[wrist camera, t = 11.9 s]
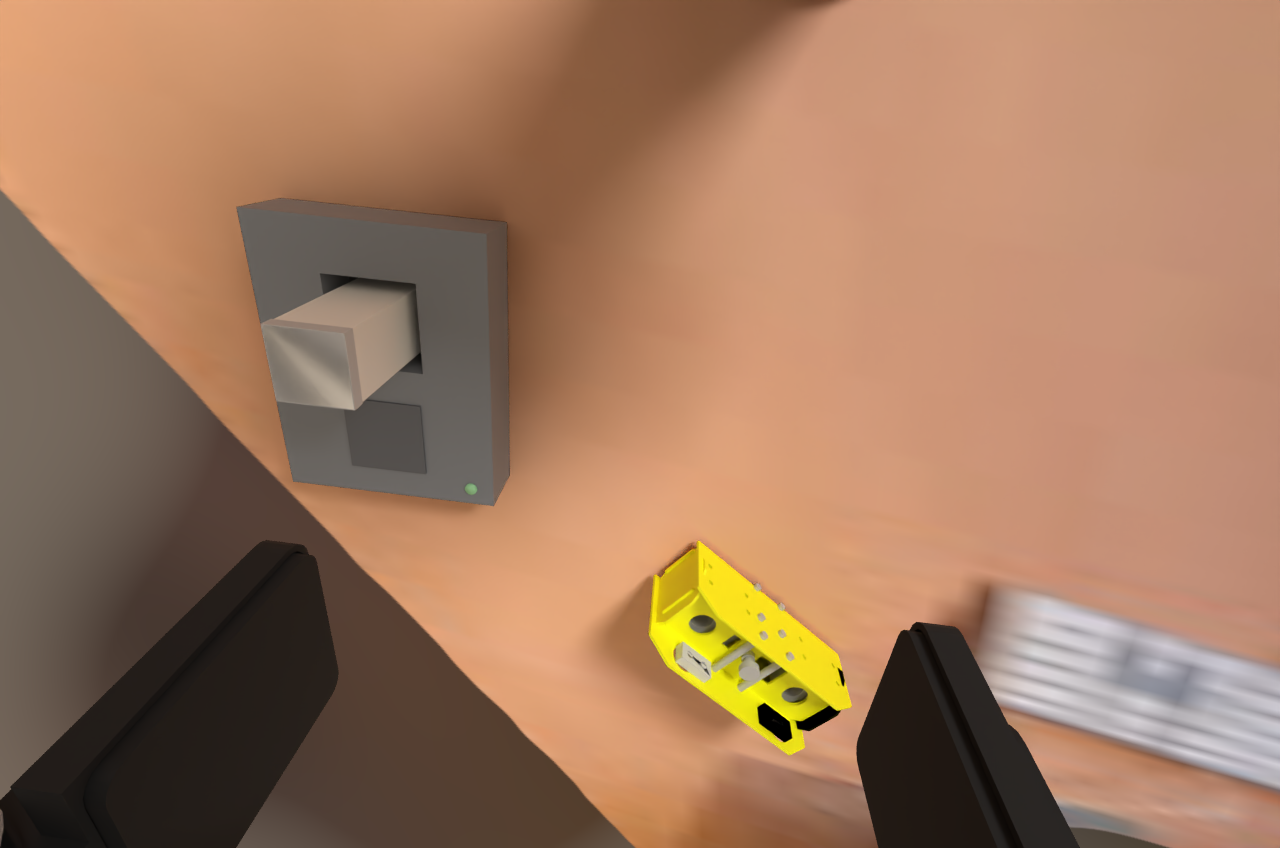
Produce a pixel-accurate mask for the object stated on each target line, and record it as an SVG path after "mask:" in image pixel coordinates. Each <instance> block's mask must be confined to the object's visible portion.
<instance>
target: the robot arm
mask: <svg viewBox="0 0 1280 848" xmlns="http://www.w3.org/2000/svg"><path fill="white" fill-rule="evenodd" d="M337 680H338V666H337V661H336V656H335V651H334V646H333V641H332V636H331V631H330V626H329V621H328V616H327V611H326V606H325V601H324V596H323V591H322V586H321V581H320V576H319V571H318V566H317V562H316V559H315V557H314V556H312V555H309V554H308V552H307V549H306V548H305V547H304V546H303V545H300V544H293V543H285V542H277V541H269V540H266V541H262V542H260V543H259V544H258V545H256V546H255V547H254V548H253V549H252V550H251V551H250V552H249V553H248V554H247V555H246V556H245V557H244V558H243V559H242V560H241V561H240V562H239V563H238V564H237V565H236V566H235V567H234V568H233V569H232V570H231V571H230V572H229V573H228V574H227V575H226V576H224V578H223V579H221V580H220V581H219V583H217V584H216V586H214V587H213V588H212V589H211V590H210V591H209V592H208V593H207V594H206V595H205V596H204V597H203V598H202V599H201V600H200V601H199V602H198V603H197V604H196V605H195V606H194V607H193V608H192V609H191V610H190V611H189V612H188V613H187V614H186V615H185V616H184V617H183V618H182V619H181V620H180V621H179V622H178V623H177V624H176V625H175V626H174V627H173V628H172V629H171V630H170V631H169V632H168V633H166V634H165V636H164V637H162V638H161V640H159V641H158V642H157V643H156V644H155V645H154V646H153V647H152V648H151V649H150V650H149V651H148V652H147V653H146V654H145V655H144V656H143V657H142V658H141V659H140V660H139V661H138V662H137V663H136V664H135V665H134V666H133V667H132V668H131V669H130V670H129V671H128V672H127V673H126V674H125V675H124V676H123V677H122V678H121V679H120V680H119V681H118V682H117V683H116V684H115V685H113V687H112V688H110V689H109V690H108V691H107V692H106V693H105V694H104V695H103V696H102V697H101V698H100V699H99V700H98V701H97V702H96V703H95V704H94V705H93V706H92V707H91V708H90V709H89V710H88V711H87V712H86V713H85V714H84V715H83V716H82V717H81V718H80V719H79V720H78V721H77V722H76V723H75V724H74V725H73V726H72V727H71V728H70V729H69V730H68V731H67V732H66V733H65V734H64V735H63V736H62V737H61V738H60V739H58V740H57V741H56V742H55V743H54V744H53V746H51V747H50V748H49V749H48V750H47V751H46V752H45V753H44V754H43V755H42V756H41V757H40V758H39V759H38V760H37V761H36V762H35V763H34V764H33V765H32V766H31V767H30V768H29V769H28V770H27V771H26V772H25V773H24V774H23V775H22V776H21V777H20V778H19V779H18V780H17V781H16V782H15V783H14V784H13V785H12V786H11V790H10V791H9V792H8V793H7V794H6V795H5V796H4V797H3V798H2V799H1V800H0V848H236V847H237V846H238V844H239V842H240V841H241V839H242V838H243V836H244V834H245V833H246V831H247V830H248V828H249V826H250V825H251V823H252V822H253V820H254V818H255V817H256V815H257V814H258V812H259V810H260V809H261V807H262V806H263V804H264V802H265V801H266V799H267V798H268V796H269V794H270V793H271V791H272V790H273V788H274V786H275V785H276V783H277V782H278V780H279V778H280V777H281V775H282V774H283V772H284V770H285V769H286V767H287V766H288V764H289V763H290V761H291V759H292V758H293V756H294V754H295V753H296V751H297V750H298V748H299V746H300V745H301V743H302V742H303V740H304V739H305V737H306V735H307V734H308V732H309V730H310V729H311V727H312V726H313V724H314V723H315V721H316V719H317V718H318V716H319V715H320V713H321V711H322V710H323V708H324V707H325V705H326V703H327V702H328V700H329V699H330V697H331V695H332V694H333V692H334V690H335V687H336V684H337ZM857 762H858V767H859V771H860V775H861V779H862V783H863V787H864V791H865V795H866V799H867V803H868V807H869V811H870V815H871V819H872V823H873V828H874V832H875V836H876V840H877V844H878V848H1080V847H1079V845H1078V843H1077V841H1076V839H1075V837H1074V835H1073V834H1072V832H1071V830H1070V828H1069V826H1068V824H1067V822H1066V820H1065V818H1064V816H1063V814H1062V813H1061V811H1060V809H1059V807H1058V805H1057V803H1056V801H1055V799H1054V797H1053V795H1052V793H1051V792H1050V790H1049V788H1048V786H1047V784H1046V782H1045V780H1044V778H1043V776H1042V774H1041V772H1040V770H1039V769H1038V767H1037V765H1036V763H1035V761H1034V759H1033V757H1032V755H1031V753H1030V751H1029V749H1028V748H1027V746H1026V744H1025V742H1024V741H1023V739H1022V738H1021V736H1020V735H1019V733H1018V732H1017V731H1016V730H1015V729H1014V728H1013V727H1012V726H1010V725H1008V723H1007V721H1006V719H1005V717H1004V715H1003V713H1002V711H1001V709H1000V707H999V706H998V704H997V702H996V700H995V698H994V696H993V694H992V692H991V690H990V688H989V686H988V684H987V682H986V680H985V678H984V676H983V674H982V672H981V670H980V668H979V666H978V664H977V663H976V661H975V659H974V657H973V655H972V653H971V651H970V649H969V647H968V645H967V643H966V641H965V639H964V637H963V635H962V634H961V632H960V631H959V629H957V628H956V627H953V626H945V625H937V624H929V623H921V622H916V623H914V624H913V625H912V627H911V629H910V631H908V630H902V631H901V632H900V634H899V636H898V638H897V641H896V643H895V646H894V648H893V651H892V654H891V656H890V659H889V661H888V664H887V666H886V669H885V671H884V674H883V676H882V679H881V682H880V684H879V687H878V689H877V692H876V694H875V697H874V699H873V702H872V704H871V707H870V710H869V712H868V715H867V717H866V720H865V722H864V725H863V727H862V730H861V732H860V735H859V738H858V741H857Z"/></svg>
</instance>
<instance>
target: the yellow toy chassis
mask: <svg viewBox="0 0 1280 848" xmlns="http://www.w3.org/2000/svg"><path fill="white" fill-rule="evenodd" d="M760 590H761V586H760V585H759V584H758V583H756V584H755V585H753V584H751V583H750V582H749V581H748V580H746V579H745V578H744V577H743V576H742V575H740V574H739V573H738V572H737V571H735V570H734V569H733V568H732V567H731V566H729V565H728V564H727V563H726V562H724V561H723V560H722V559H721V558H720V557H718V556H717V555H716V554H715V553H713V552H712V551H711V550H710V549H709V548H707V547H706V546H705V545H704V544H702V543H701V542H700V541H699V540H698V541H697V549H691V550H690V551H689V552H688V553H686V554H685V555H684V556H682V557H681V558H680V559H679V560H677V561H676V562H675V563H673V564H672V565H671V566H670V567H668V568H667V569H666V570H665V573H664V574H663V576H662V577H661V578H660V577H659V576H657V575H656V574H655V575H654V577H653V588H652V599H651V611H650V622H649V633H648V635H649V636H650V638H651V640H652V642H653V643H654V645H655V647H656V648H657V650H658V652H659V654H660V655H661V657H662V659H663V661H664V662H665V664H666V666H667V667H669V668H670V669H671V670H673V671H674V672H675V673H677V674H678V675H679V676H681V677H682V678H684V679H685V680H686V681H688V682H689V683H690V684H692V685H693V686H695V687H696V688H697V689H699V690H700V691H701V692H703V693H704V694H706V695H707V696H708V697H710V698H711V699H712V700H714V701H715V702H716V703H718V704H719V705H721V706H722V707H723V708H725V709H726V710H727V711H729V712H730V713H732V714H733V715H734V716H736V717H737V718H738V719H740V720H741V721H742V722H744V723H745V724H747V725H748V726H749V727H751V728H752V729H753V730H755V731H756V732H758V733H759V734H760V735H762V736H763V737H764V738H766V739H767V740H769V741H770V742H771V743H773V744H774V745H775V746H777V747H778V748H779V749H781V750H782V751H784V752H785V753H786V754H788V755H791V754H793V753H795V752H797V751H799V750H801V749H803V748H805V745H804V739H803V733H802V730H806V731H811V730H813V729H814V728H816V727H818V726H820V725H822V724H823V723H825V722H827V721H829V720H831V719H832V718H834V717H836V716H837V715H838V714H839V713H840V711H841V710H843V709H848V708H851V707H852V705H851V702H850V698H849V694H848V690H847V687H846V683H845V679H844V675H843V671H842V668H841V664H840V660H839V656H838V654H837V653H836V652H834V651H833V650H832V649H831V648H830V647H828V646H827V645H826V644H825V643H823V642H822V641H821V640H820V639H819V638H817V637H816V636H815V635H814V634H812V633H811V632H810V631H809V630H808V629H806V628H805V627H804V626H803V625H801V624H800V623H799V622H798V621H797V620H795V619H794V618H793V617H792V616H790V615H789V614H788V613H787V612H786V611H784V609H785V606H784V604H783V603H780V604H778V605H777V604H776V603H775V602H773V601H772V600H771V599H770V598H768V597H767V596H766V595H765V594H764V593H762V592H761V591H760ZM675 648H676V655H675V659H674V654H673V652H674V649H675ZM678 664H679V665H680V666H681V667H683V668H684V669H686V670H687V671H688V672H685V671H683V670H682V669H681V668H680V667H679V666H678ZM773 734H774V735H775V736H777V737H778V738H779V739H781V740H782V741H783V742H780V741H779V740H778V739H776V737H775V736H774V735H773Z"/></svg>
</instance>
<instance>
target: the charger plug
mask: <svg viewBox="0 0 1280 848" xmlns="http://www.w3.org/2000/svg"><path fill="white" fill-rule="evenodd" d="M261 329H262V334H263V339H264V344H265V349H266V354H267V359H268V363H269V368H270V373H271V378H272V383H273V388H274V393H275V398H276V401H279V402H287V403H296V404H304V405H313V406H321V407H329V408H338V409H346V410H354V411H355V410H356V409H358V408H359V407H360V406H361V405H362V404H363V401H365V400H366V399H367V398H368V397H369V396H370V395H371V394H373V393H374V392H375V391H376V390H377V389H378V388H380V387H381V386H382V385H383V384H384V383H385V382H386V381H388V380H389V379H390V378H391V377H392V376H393V375H395V374H396V373H397V372H398V371H399V370H400V369H401V368H403V367H404V366H405V365H406V364H407V363H408V362H410V361H411V360H412V359H413V358H414V357H415V356H416V355H418V354H419V353H420V352H421V344H420V332H419V320H418V308H417V296H416V284H413V283H404V282H395V281H386V280H377V279H368V278H357V279H355V280H353V281H351V282H349V283H347V284H345V285H343V286H341V287H339V288H336V289H334V290H332V291H330V292H328V293H326V294H324V295H322V296H320V297H318V298H316V299H314V300H312V301H310V302H308V303H306V304H304V305H302V306H299V307H297V308H295V309H293V310H291V311H289V312H287V313H285V314H283V315H281V316H279V317H277V318H275V319H269V320H267V321H265V322H263V323H261Z"/></svg>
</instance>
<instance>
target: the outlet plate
mask: <svg viewBox="0 0 1280 848" xmlns="http://www.w3.org/2000/svg"><path fill="white" fill-rule="evenodd" d="M237 212H238V217H239V222H240V227H241V232H242V236H243V241H244V246H245V251H246V256H247V261H248V265H249V270H250V275H251V280H252V285H253V290H254V294H255V299H256V304H257V309H258V314H259V319H260V323H263V322H265V321H267V320H269V319H275V318H277V317H279V316H281V315H283V314H285V313H287V312H289V311H291V310H293V309H295V308H297V307H299V306H302V305H304V304H306V303H308V302H310V301H312V300H314V299H316V298H318V297H320V296H322V295H324V294H326V293H328V292H330V291H332V290H334V289H336V288H339V287H341V286H343V285H345V284H347V283H349V282H351V281H353V280H355V279H357V278H368V279H377V280H386V281H395V282H404V283H413V284H416V296H417V308H418V320H419V332H420V344H421V352H420V353H419V354H418V355H416V356H415V357H414V358H413V359H412V360H411V361H410V362H408V363H407V364H406V365H405V366H404V367H403V368H401V369H400V370H399V371H398V372H397V373H396V374H395V375H393V376H392V377H391V378H390V379H389V380H388V381H386V382H385V383H384V384H383V385H382V386H381V387H380V388H378V389H377V390H376V391H375V392H374V393H373V394H371V395H370V396H369V397H368V398H367V399H366V400H365V401H363V404H362V405H361V406H360V407H359V408H358V409H356V410H355V411H354V410H346V409H338V408H329V407H321V406H313V405H304V404H296V403H287V402H279V401H277V406H278V411H279V415H280V420H281V425H282V430H283V435H284V440H285V445H286V449H287V454H288V459H289V464H290V469H291V474H292V478H293V481H294V482H302V483H310V484H318V485H327V486H335V487H343V488H351V489H359V490H367V491H376V492H384V493H392V494H400V495H408V496H417V497H425V498H433V499H441V500H449V501H457V502H466V503H474V504H482V505H490V506H494V505H495V503H496V501H497V499H498V497H499V495H500V493H501V491H502V489H503V487H504V485H505V483H506V481H507V479H508V477H509V475H510V453H509V367H508V281H507V222H499V221H490V220H481V219H471V218H462V217H453V216H443V215H434V214H425V213H415V212H406V211H397V210H387V209H378V208H369V207H359V206H350V205H341V204H331V203H322V202H313V201H303V200H294V199H285V198H278V199H273V200H268V201H263V202H259V203H254V204H249V205H244V206H239V207H237Z"/></svg>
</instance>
